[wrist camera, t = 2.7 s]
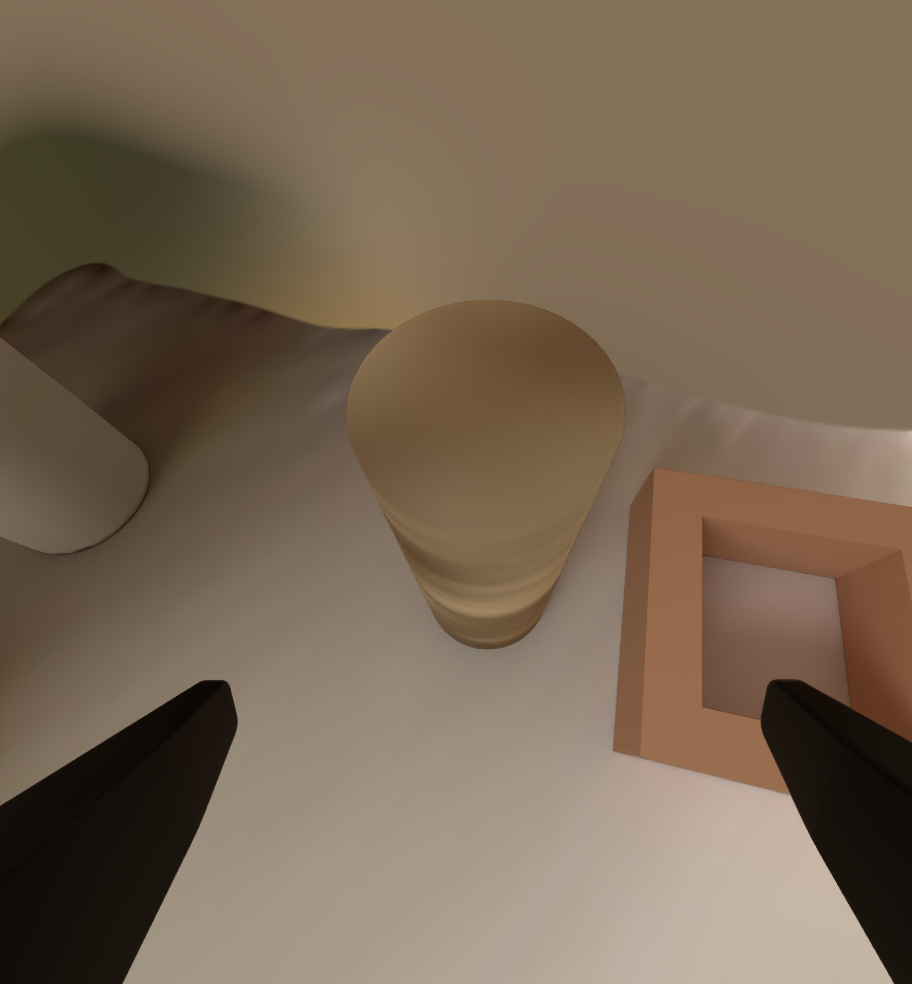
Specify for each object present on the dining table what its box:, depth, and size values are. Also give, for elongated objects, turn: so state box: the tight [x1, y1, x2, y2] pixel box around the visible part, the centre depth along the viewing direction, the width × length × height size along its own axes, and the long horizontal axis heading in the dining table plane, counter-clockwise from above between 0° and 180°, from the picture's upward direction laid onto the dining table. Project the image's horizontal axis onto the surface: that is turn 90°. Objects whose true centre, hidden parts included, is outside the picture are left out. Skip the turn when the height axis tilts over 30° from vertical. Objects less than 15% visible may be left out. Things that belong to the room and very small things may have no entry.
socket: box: [613, 468, 912, 795], centre depth 17 cm, size 10×10×4 cm
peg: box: [346, 300, 626, 649], centre depth 14 cm, size 5×5×13 cm
